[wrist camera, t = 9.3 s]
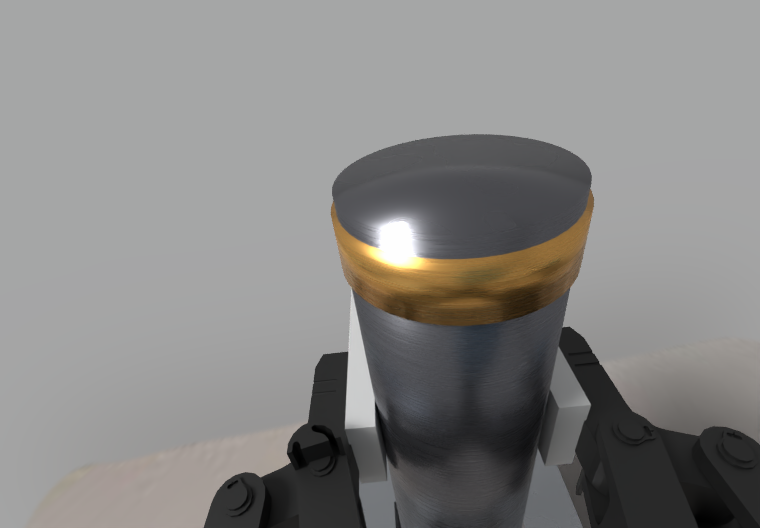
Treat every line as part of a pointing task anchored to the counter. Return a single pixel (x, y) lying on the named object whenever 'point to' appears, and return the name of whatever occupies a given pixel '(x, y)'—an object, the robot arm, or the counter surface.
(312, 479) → the robot arm
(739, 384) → the counter surface
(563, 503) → the socket
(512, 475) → the cylinder
